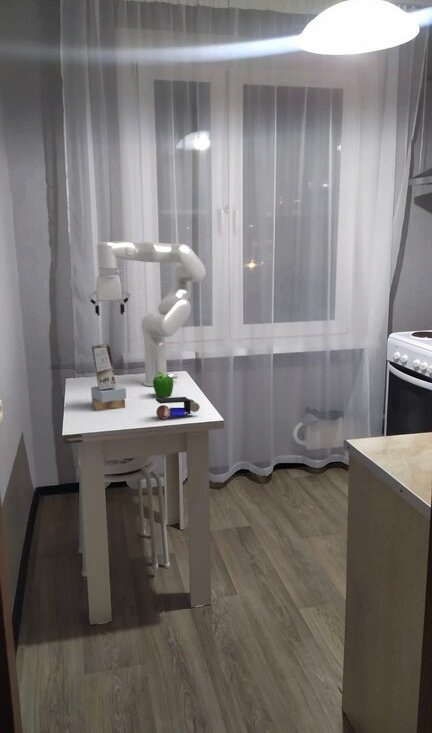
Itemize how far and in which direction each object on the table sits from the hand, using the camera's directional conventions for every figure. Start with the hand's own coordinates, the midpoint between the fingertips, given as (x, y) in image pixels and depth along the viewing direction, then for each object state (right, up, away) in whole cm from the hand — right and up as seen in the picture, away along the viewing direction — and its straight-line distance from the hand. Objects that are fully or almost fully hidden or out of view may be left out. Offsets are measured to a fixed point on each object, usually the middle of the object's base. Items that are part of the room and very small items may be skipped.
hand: (110, 314), depth 239 cm
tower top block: (+2, -34, -13) cm, 36 cm away
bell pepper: (+22, -34, +1) cm, 40 cm away
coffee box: (+1, -29, -14) cm, 33 cm away
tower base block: (+2, -37, -12) cm, 39 cm away
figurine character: (+30, -40, -27) cm, 57 cm away
